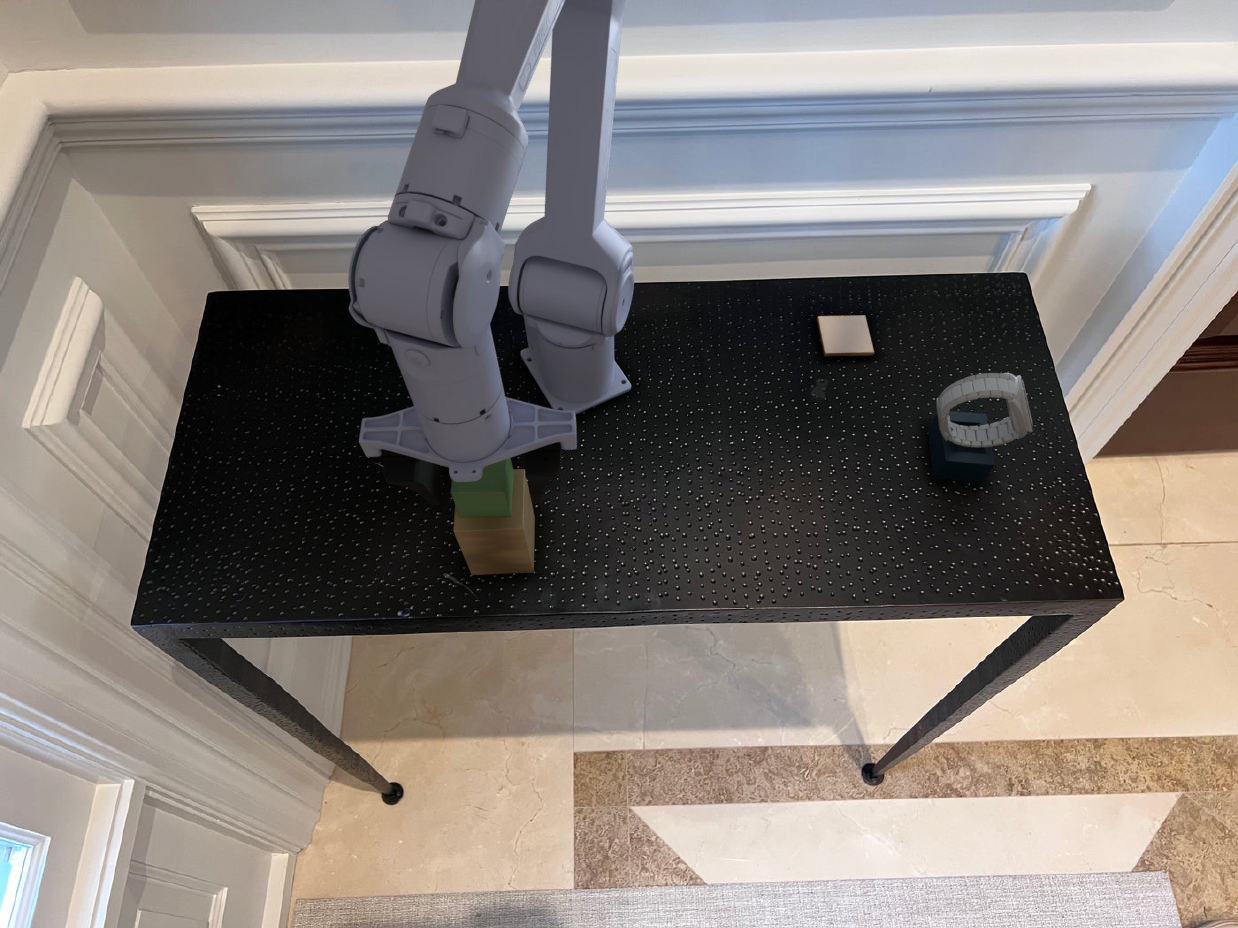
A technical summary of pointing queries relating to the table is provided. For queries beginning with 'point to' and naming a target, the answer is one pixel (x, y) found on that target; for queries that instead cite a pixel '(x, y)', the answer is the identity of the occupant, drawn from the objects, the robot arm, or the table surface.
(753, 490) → the table surface
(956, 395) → the watch
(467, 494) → the green block
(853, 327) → the coaster
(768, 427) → the table surface
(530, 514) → the wooden block
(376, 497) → the table surface
